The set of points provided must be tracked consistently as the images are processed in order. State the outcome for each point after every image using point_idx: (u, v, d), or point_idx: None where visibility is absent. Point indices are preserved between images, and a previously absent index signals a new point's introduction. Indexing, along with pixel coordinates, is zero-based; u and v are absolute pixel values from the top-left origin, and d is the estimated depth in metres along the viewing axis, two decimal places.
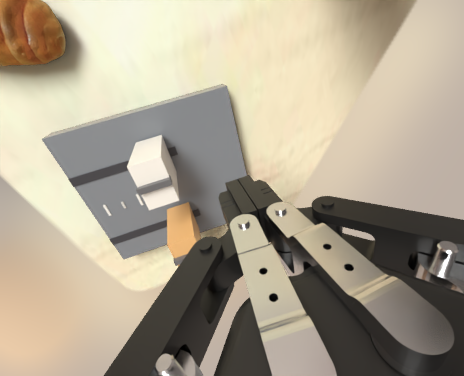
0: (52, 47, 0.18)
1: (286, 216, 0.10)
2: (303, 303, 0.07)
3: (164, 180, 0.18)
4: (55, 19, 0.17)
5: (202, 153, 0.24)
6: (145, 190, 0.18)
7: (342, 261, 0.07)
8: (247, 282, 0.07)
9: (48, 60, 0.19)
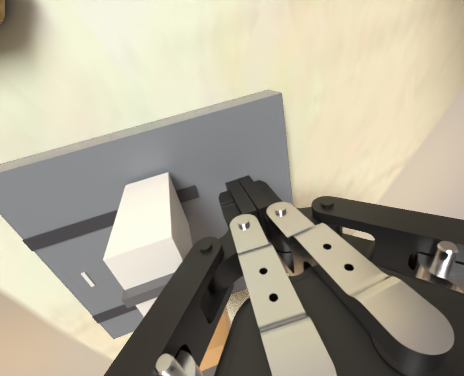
0: None
1: (286, 216, 0.10)
2: (303, 303, 0.07)
3: None
4: None
5: None
6: (140, 298, 0.09)
7: (342, 261, 0.07)
8: (247, 282, 0.07)
9: None
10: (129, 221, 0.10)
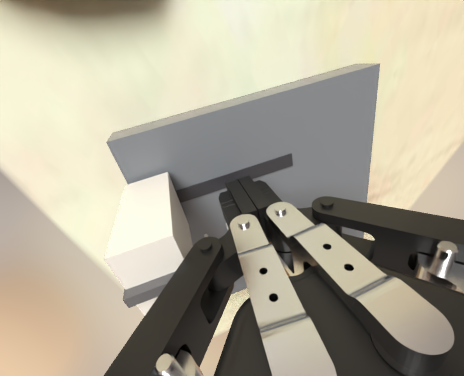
0: None
1: (286, 216, 0.10)
2: (303, 303, 0.07)
3: None
4: None
5: (323, 163, 0.17)
6: (141, 298, 0.09)
7: (342, 261, 0.07)
8: (247, 282, 0.07)
9: None
10: (129, 220, 0.10)
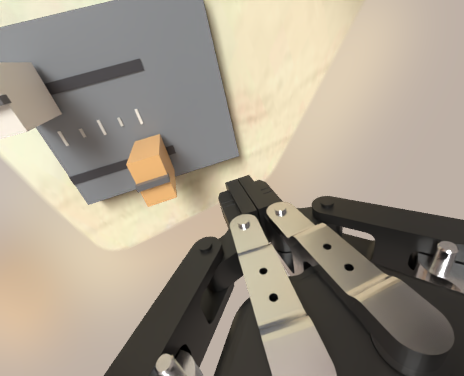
0: None
1: (286, 216, 0.10)
2: (303, 303, 0.07)
3: None
4: None
5: (173, 70, 0.21)
6: None
7: (342, 261, 0.07)
8: (247, 282, 0.07)
9: None
10: None
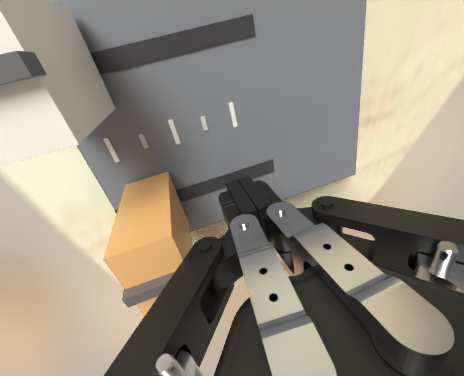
0: None
1: (286, 216, 0.10)
2: (303, 303, 0.07)
3: None
4: None
5: (299, 39, 0.13)
6: None
7: (342, 261, 0.07)
8: (247, 282, 0.07)
9: None
10: None
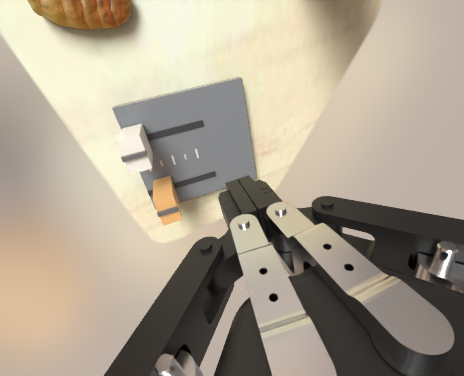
0: (125, 13, 0.25)
1: (286, 216, 0.10)
2: (303, 303, 0.07)
3: (141, 152, 0.25)
4: None
5: (221, 126, 0.34)
6: (127, 158, 0.25)
7: (342, 261, 0.07)
8: (247, 282, 0.07)
9: (121, 23, 0.26)
10: (124, 134, 0.26)
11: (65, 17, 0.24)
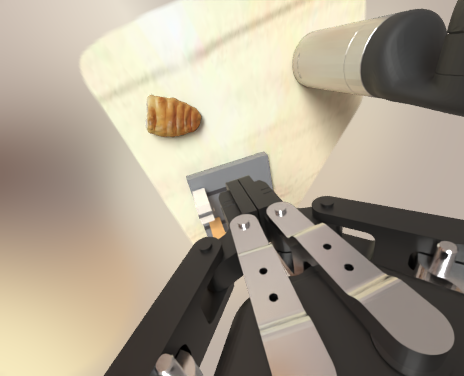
0: (198, 125, 0.42)
1: (286, 216, 0.10)
2: (303, 303, 0.07)
3: (210, 212, 0.42)
4: (199, 113, 0.41)
5: None
6: (202, 216, 0.42)
7: (342, 261, 0.07)
8: (247, 282, 0.07)
9: None
10: (198, 200, 0.43)
11: (166, 134, 0.41)
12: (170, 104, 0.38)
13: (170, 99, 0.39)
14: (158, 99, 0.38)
